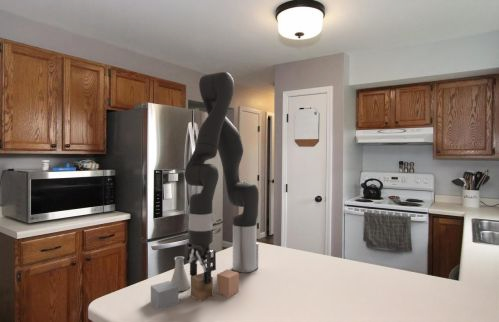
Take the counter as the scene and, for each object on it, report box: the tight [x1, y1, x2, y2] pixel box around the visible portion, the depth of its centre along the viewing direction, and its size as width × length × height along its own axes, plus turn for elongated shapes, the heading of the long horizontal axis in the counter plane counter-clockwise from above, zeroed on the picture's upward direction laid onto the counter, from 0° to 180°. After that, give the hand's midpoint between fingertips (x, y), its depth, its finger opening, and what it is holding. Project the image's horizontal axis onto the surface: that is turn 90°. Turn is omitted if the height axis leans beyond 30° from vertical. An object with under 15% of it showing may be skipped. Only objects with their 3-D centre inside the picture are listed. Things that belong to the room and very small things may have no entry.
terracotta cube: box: [216, 269, 240, 298], centre depth 100 cm, size 5×5×6 cm
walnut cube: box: [190, 272, 214, 302], centre depth 97 cm, size 5×5×6 cm
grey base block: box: [150, 280, 179, 310], centre depth 93 cm, size 6×6×5 cm
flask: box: [170, 255, 191, 292], centre depth 103 cm, size 7×7×10 cm
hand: (200, 279), depth 97 cm, fingers open, 8 cm apart
